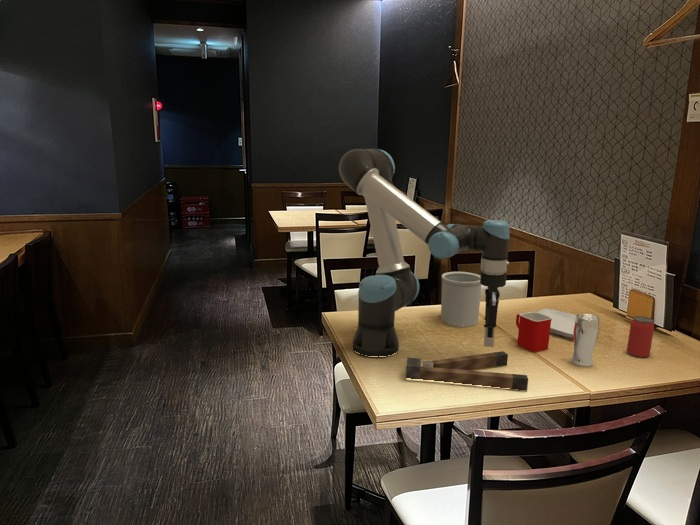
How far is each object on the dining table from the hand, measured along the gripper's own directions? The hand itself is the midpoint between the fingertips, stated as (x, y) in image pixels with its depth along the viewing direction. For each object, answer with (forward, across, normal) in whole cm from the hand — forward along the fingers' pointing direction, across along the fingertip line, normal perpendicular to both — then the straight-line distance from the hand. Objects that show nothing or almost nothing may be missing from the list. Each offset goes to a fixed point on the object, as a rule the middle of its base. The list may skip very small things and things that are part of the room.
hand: (488, 345), depth 160 cm
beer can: (+5, +14, -49) cm, 51 cm away
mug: (+5, +15, -15) cm, 21 cm away
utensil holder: (+4, +34, +7) cm, 35 cm away
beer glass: (+5, +3, -29) cm, 29 cm away
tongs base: (+4, -17, +8) cm, 19 cm away
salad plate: (+5, +35, -29) cm, 45 cm away
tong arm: (+4, -9, +6) cm, 11 cm away
